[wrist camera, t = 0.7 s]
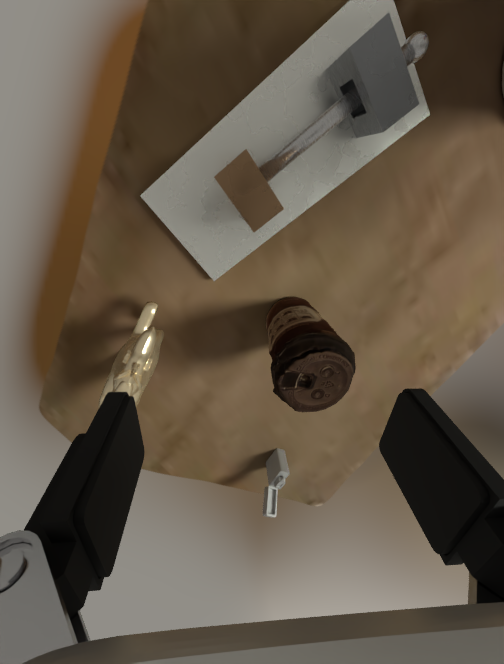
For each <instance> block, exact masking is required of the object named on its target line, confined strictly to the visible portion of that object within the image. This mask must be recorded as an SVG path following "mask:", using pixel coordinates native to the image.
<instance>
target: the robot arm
mask: <svg viewBox="0 0 504 664" xmlns="http://www.w3.org/2000/svg"><path fill="white" fill-rule="evenodd" d="M502 90H503V96H504V63H503V68H502ZM379 447H380V452H381V454H382V456H383V457H384V459H385V461H386V463H387V465H388V467H389V469H390V471H391V472H392V474H393V476H394V478H395V480H396V482H397V484H398V485H399V487H400V489H401V491H402V493H403V495H404V496H405V498H406V500H407V502H408V504H409V506H410V508H411V509H412V511H413V513H414V515H415V517H416V519H417V521H418V523H419V524H420V526H421V528H422V530H423V532H424V534H425V536H426V537H427V539H428V541H429V543H430V545H431V547H432V548H433V550H434V551H435V552H436V553H437V554H440V556H441V558H442V560H443V562H444V563H445V565H458V564H463V563H464V564H465V565H466V567H467V569H468V570H469V591H468V604H466V605H455V606H442V607H430V608H417V609H405V610H392V611H381V612H368V613H356V614H344V615H333V616H321V617H310V618H298V619H287V620H276V621H264V622H253V623H243V624H232V625H220V626H210V627H198V628H188V629H178V630H170V631H160V632H151V633H142V634H134V635H124V636H116V637H110V638H104V639H99V640H93V641H90V638H89V635H88V632H87V629H86V627H85V624H84V621H83V618H82V615H81V613H80V609H81V608H82V607H83V606H84V603H85V600H86V597H87V594H88V591H95V590H100V589H101V586H102V582H103V579H104V577H109V576H110V574H111V572H112V570H113V566H114V563H115V559H116V556H117V552H118V549H119V545H120V541H121V538H122V534H123V531H124V527H125V524H126V520H127V516H128V513H129V510H130V506H131V502H132V499H133V495H134V492H135V488H136V485H137V481H138V477H139V474H140V470H141V467H142V463H143V459H144V445H143V440H142V435H141V430H140V425H139V420H138V415H137V410H136V405H135V400H134V397H133V396H129V395H128V393H127V392H108V393H107V394H106V396H105V398H104V400H103V402H102V404H101V406H100V408H99V410H98V411H97V413H96V415H95V417H94V419H93V421H92V423H91V425H90V427H89V429H88V431H87V432H86V434H79V435H78V436H76V438H75V439H74V441H73V442H72V444H71V446H70V448H69V450H68V452H67V453H66V455H65V457H64V459H63V461H62V462H61V464H60V466H59V468H58V469H57V471H56V473H55V475H54V477H53V478H52V480H51V482H50V484H49V486H48V487H47V489H46V491H45V493H44V495H43V497H42V498H41V500H40V502H39V504H38V506H37V507H36V509H35V511H34V513H33V514H32V516H31V518H30V520H29V522H28V523H27V525H26V527H25V529H24V531H21V530H19V531H16V532H11V533H8V534H6V535H4V536H2V537H0V664H504V480H503V478H502V477H501V476H500V475H499V474H498V473H497V472H496V471H495V469H494V468H493V467H492V466H491V465H490V464H489V462H488V461H487V460H486V459H485V458H484V457H483V456H482V454H481V453H480V452H479V451H478V450H477V449H476V448H475V447H474V445H473V444H472V443H471V442H470V441H469V440H468V439H467V438H466V436H465V435H464V434H463V433H462V432H461V431H460V430H459V429H458V427H457V426H456V425H455V424H454V423H453V422H452V421H451V419H450V418H449V417H448V416H447V415H446V414H445V413H444V411H443V410H442V409H441V408H440V407H439V406H438V405H437V403H436V402H435V401H434V400H433V399H432V398H431V397H430V395H429V394H428V393H427V392H426V391H425V390H424V389H405V390H403V392H402V393H400V394H399V395H398V397H397V400H396V402H395V405H394V407H393V410H392V412H391V415H390V417H389V420H388V422H387V425H386V427H385V430H384V432H383V435H382V437H381V440H380V443H379Z"/></svg>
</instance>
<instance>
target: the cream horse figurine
mask: <svg viewBox="0 0 504 664" xmlns="http://www.w3.org/2000/svg"><path fill="white" fill-rule="evenodd" d="M157 310H158V304H157V303H156V302H147V303H146V304H145V306H144V309H143V311H142V313H141V315H140V317H139V320H138V322H137V324H136V326H135V328H134V330H133V333H132V334H131V336H130V338H129V340H128V341H127V343H126V344H125V345H124V346H123V347H122V348H121V349H120V351H119V353H118V354H117V357H116V359H115V361H114V364H113V366H112V369H111V371H110V374H109V376H108V378H107V381H106V383H105V386H104V388H103V391H102V393H101V396H100V399H99V407H98V409H99V408H100V406H101V404H102V402H103V400H104V398H105V396H106V394H107V393H108V392H127V393H128V395H129V396H133V397H134V400H135V405H136V406H137V405H138V403H139V401H140V397H141V395H142V393H143V391H144V389H145V387H146V385H147V383H148V381H149V379H150V378H151V376H152V374H153V372H154V370H155V368H156V365H157V362H158V359H159V350H160V346H161V343H162V340H163V338H164V333H163V331H162V330H161V329H155V327H154V326H151V327H150V325H151V323H152V321H153V319H154V317H155V314H156V312H157Z"/></svg>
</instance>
